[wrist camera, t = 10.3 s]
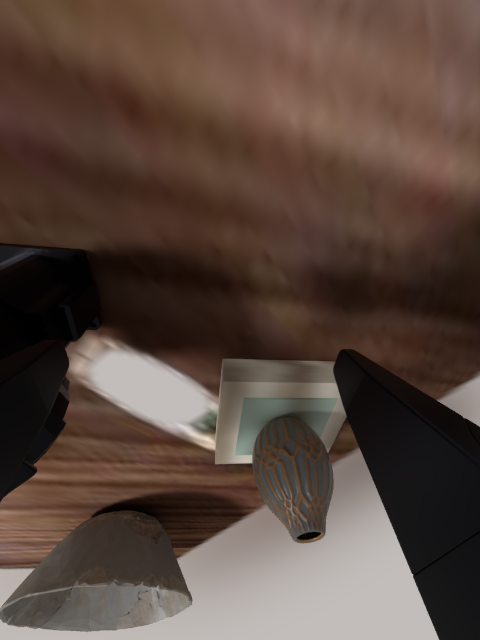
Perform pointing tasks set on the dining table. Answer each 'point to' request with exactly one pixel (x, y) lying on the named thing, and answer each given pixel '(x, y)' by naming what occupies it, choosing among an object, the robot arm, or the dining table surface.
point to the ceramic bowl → (103, 578)
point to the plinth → (273, 402)
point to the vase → (294, 476)
